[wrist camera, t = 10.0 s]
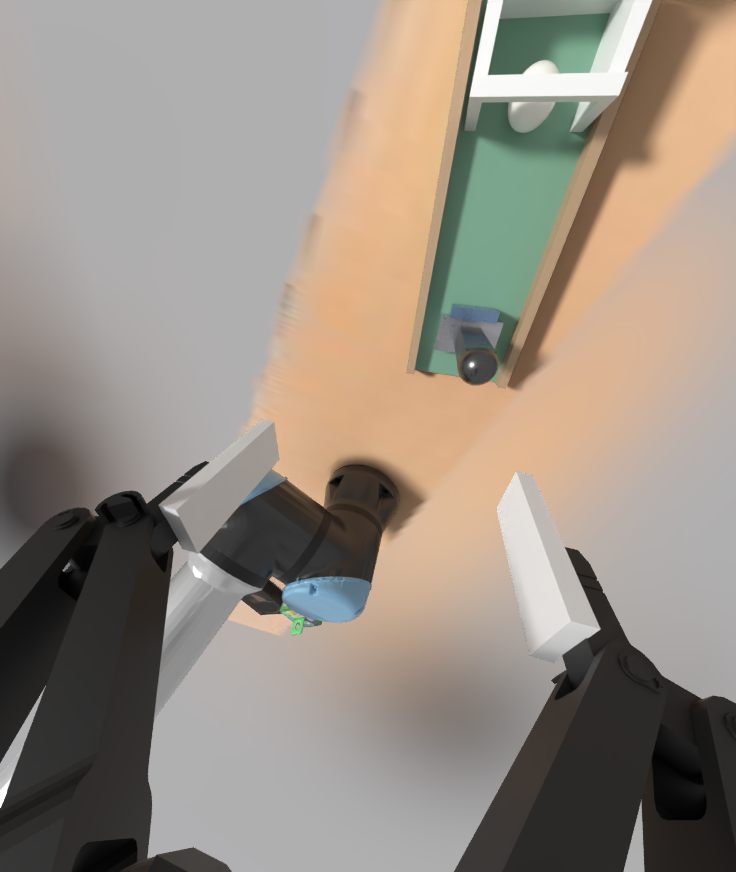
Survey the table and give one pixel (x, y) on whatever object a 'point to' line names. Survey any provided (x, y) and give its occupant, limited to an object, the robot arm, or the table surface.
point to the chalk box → (298, 619)
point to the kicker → (471, 341)
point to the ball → (531, 103)
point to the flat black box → (265, 600)
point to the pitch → (509, 185)
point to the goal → (590, 89)
